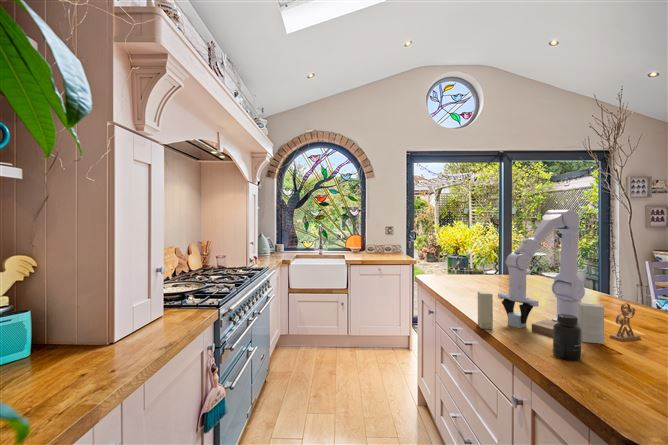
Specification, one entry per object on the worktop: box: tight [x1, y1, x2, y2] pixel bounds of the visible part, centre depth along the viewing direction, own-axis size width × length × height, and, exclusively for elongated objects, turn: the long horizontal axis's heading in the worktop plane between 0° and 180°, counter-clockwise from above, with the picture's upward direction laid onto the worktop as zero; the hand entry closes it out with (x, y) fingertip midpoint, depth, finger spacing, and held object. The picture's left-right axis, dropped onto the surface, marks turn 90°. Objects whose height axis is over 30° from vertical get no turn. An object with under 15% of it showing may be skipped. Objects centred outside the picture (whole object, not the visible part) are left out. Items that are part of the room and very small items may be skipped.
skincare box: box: [577, 302, 605, 345], centre depth 111 cm, size 6×4×12 cm
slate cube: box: [507, 311, 527, 329], centre depth 126 cm, size 4×4×4 cm
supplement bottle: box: [552, 314, 582, 362], centre depth 98 cm, size 7×7×12 cm
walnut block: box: [531, 319, 558, 338], centre depth 119 cm, size 10×10×3 cm
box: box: [477, 290, 494, 330], centre depth 124 cm, size 5×4×13 cm
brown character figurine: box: [609, 302, 641, 342], centre depth 113 cm, size 9×4×12 cm, turn 105°
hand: (517, 321), depth 126 cm, fingers closed on slate cube, 4 cm apart
